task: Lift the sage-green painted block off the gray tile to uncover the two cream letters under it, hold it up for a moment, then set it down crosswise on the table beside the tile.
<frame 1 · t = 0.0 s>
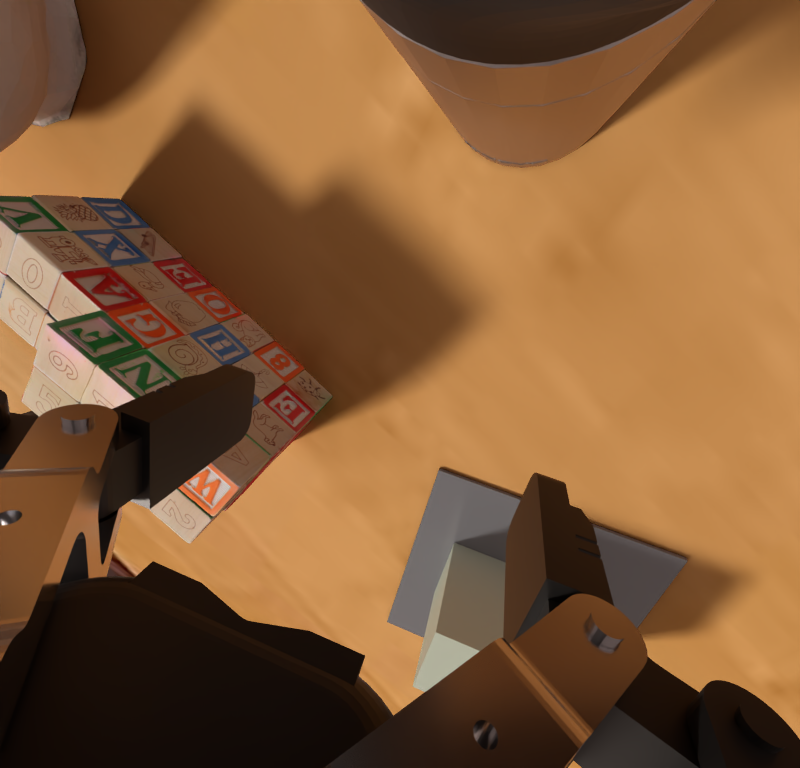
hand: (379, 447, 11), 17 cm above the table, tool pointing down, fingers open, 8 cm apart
ceramic pitcher: (29, 39, 28), on the table
stack of blocks: (215, 327, 33), on the table
gray tile: (514, 593, 34), on the table
sage block: (514, 596, 34), resting on gray tile
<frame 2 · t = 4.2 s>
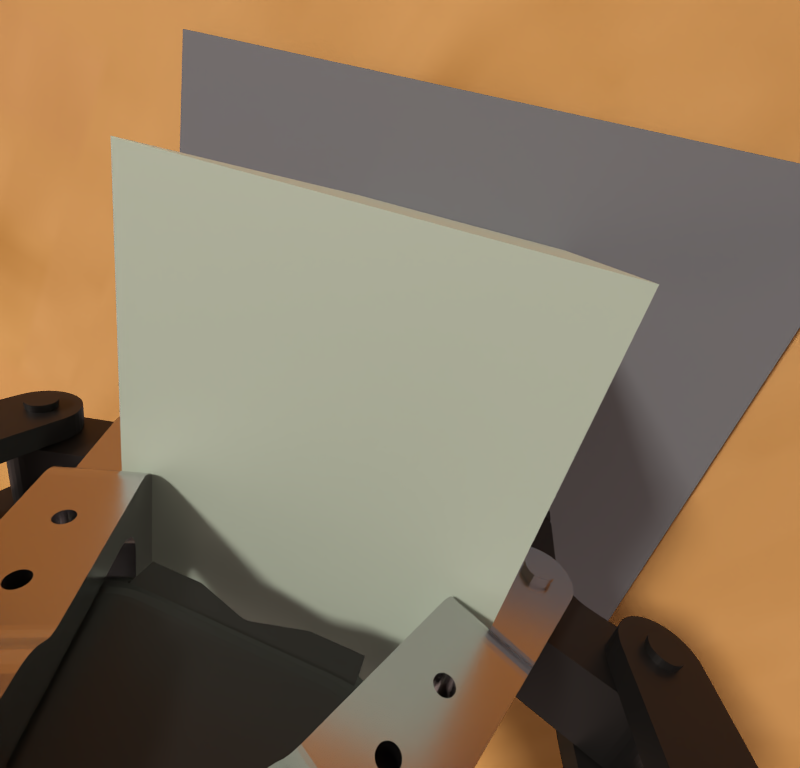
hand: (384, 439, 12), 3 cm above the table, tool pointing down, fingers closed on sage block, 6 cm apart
gray tile: (407, 404, 14), on the table
sage block: (405, 408, 14), resting on gray tile, touching gripper
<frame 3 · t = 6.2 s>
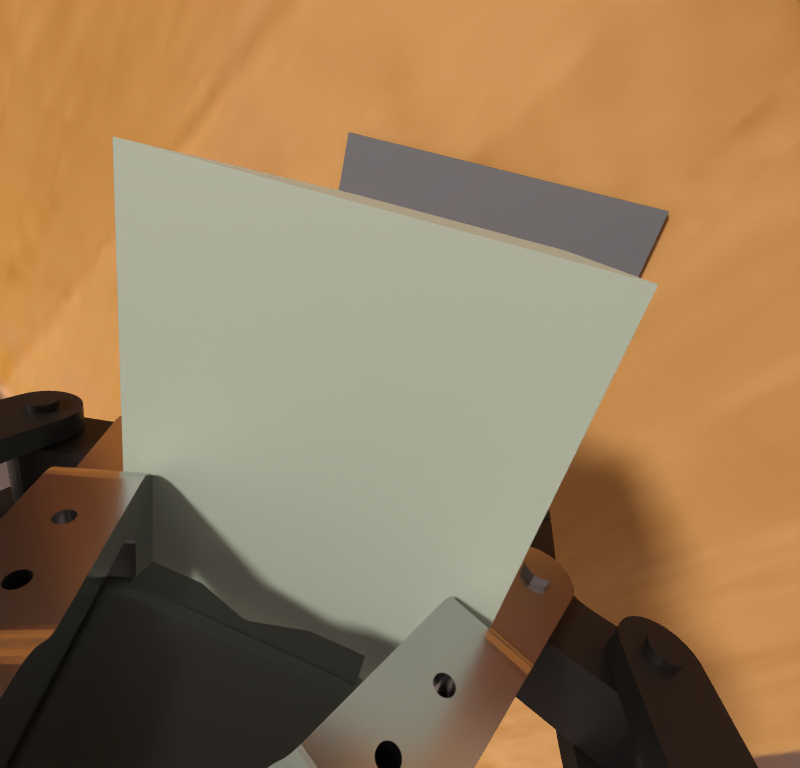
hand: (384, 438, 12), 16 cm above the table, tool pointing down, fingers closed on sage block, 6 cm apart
gray tile: (453, 323, 26), on the table
sage block: (405, 408, 14), point 14 cm above the table, touching gripper
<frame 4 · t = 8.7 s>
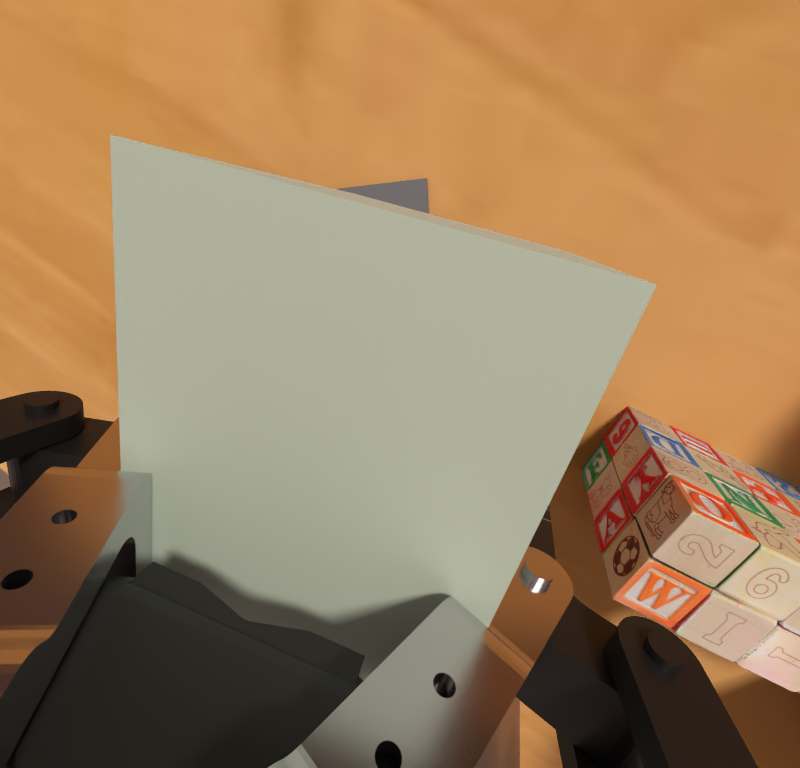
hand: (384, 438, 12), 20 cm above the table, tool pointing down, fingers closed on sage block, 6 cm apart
stack of blocks: (741, 504, 29), on the table
gray tile: (320, 318, 32), on the table
sage block: (404, 408, 14), point 17 cm above the table, touching gripper
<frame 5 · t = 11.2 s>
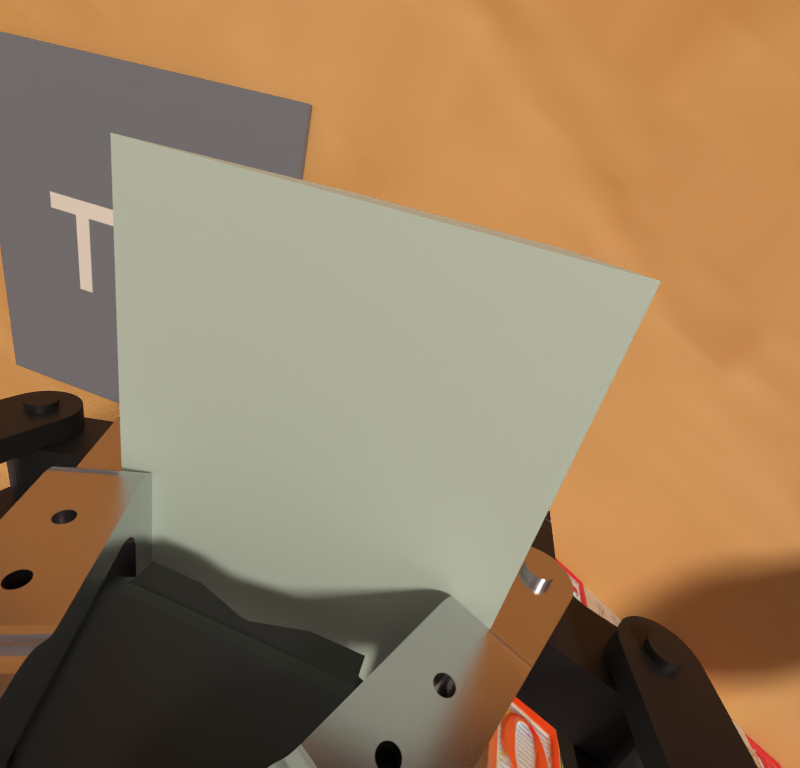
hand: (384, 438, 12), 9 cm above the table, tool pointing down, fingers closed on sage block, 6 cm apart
stack of blocks: (596, 655, 24), on the table
gray tile: (135, 261, 22), on the table
sage block: (405, 407, 14), point 7 cm above the table, touching gripper
when the fingers open (4 cm above the table, at t = 13.2 s): sage block drops 1 cm, on the table.
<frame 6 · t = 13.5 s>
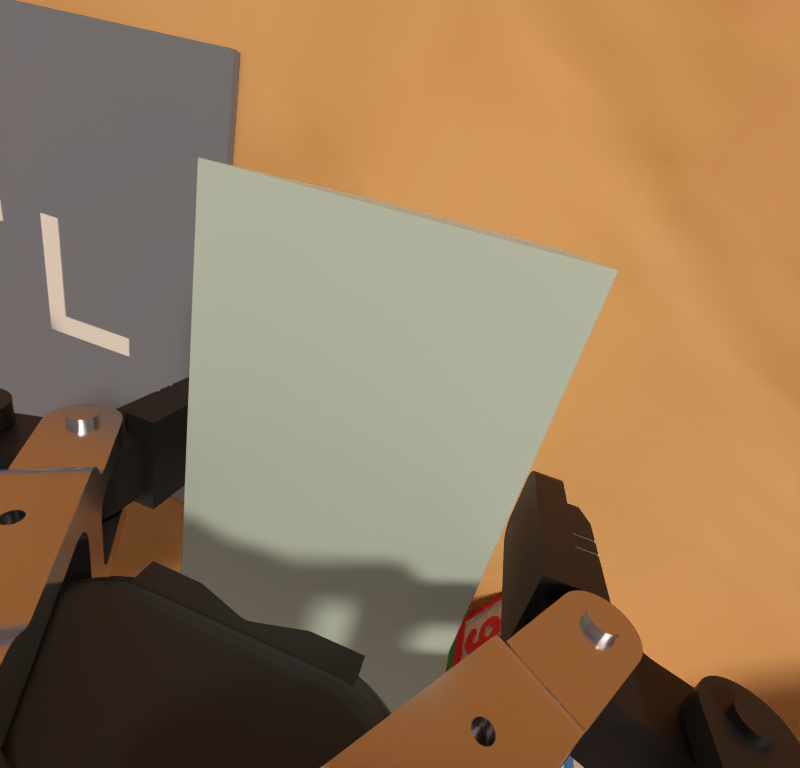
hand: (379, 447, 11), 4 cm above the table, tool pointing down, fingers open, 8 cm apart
stack of blocks: (627, 764, 19), on the table
gray tile: (35, 266, 18), on the table
sage block: (413, 392, 15), on the table
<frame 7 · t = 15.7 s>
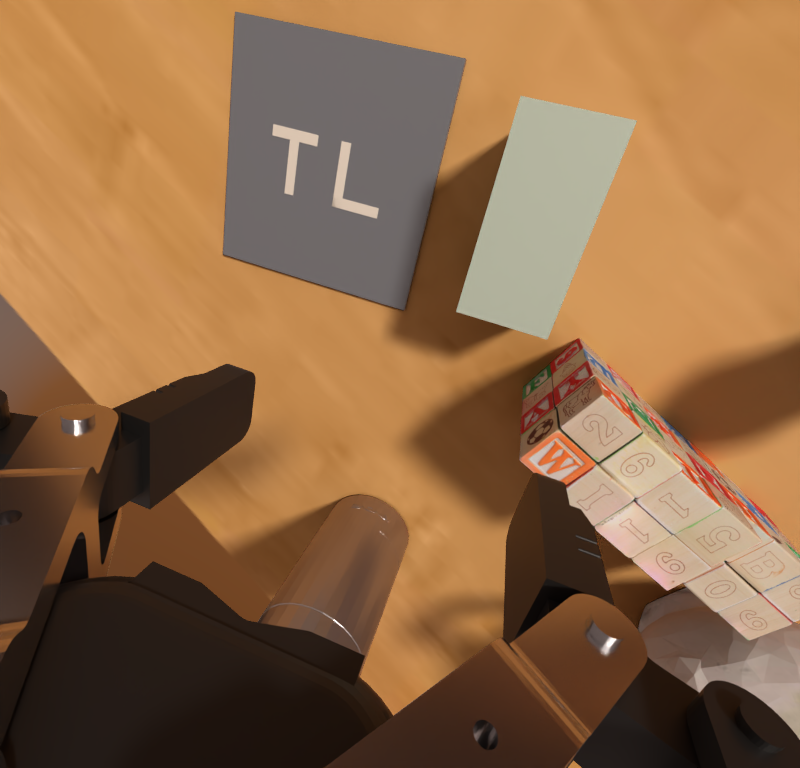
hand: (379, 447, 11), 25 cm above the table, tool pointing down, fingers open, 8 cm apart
ceramic pitcher: (697, 625, 39), on the table
stack of blocks: (639, 446, 35), on the table
gray tile: (327, 172, 34), on the table
sage block: (533, 226, 31), on the table
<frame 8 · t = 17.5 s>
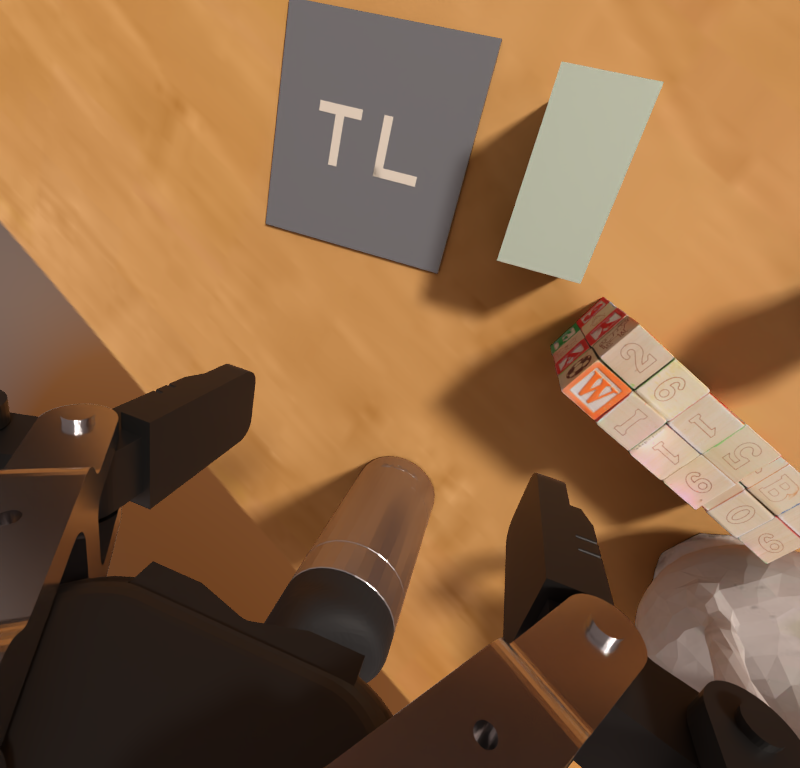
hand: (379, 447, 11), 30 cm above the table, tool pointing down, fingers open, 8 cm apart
ceramic pitcher: (709, 572, 42), on the table
stack of blocks: (658, 399, 38), on the table
gray tile: (369, 144, 37), on the table
sage block: (559, 191, 34), on the table
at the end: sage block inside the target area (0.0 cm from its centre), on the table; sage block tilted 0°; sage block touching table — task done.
